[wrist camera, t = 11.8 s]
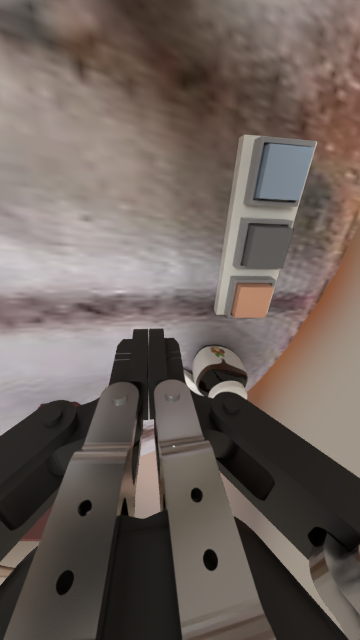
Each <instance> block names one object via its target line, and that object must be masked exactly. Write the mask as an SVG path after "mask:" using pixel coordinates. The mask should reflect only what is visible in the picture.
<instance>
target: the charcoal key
mask: <svg viewBox="0 0 360 640" xmlns="http://www.w3.org/2000/svg"><path fill="white" fill-rule="evenodd" d="M293 231H294V229H293V228H290V227H286V226H266V225H249V227H248V232H247V237H246V242H245V247H244V252H243V258H242V264H243V265H244V266H245V267H247V268H283V265H284V261H285V258H286V255H287V251H288V248H289V244H290V241H291V238H292V234H293Z"/></svg>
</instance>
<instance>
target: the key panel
mask: <svg viewBox="0 0 360 640" xmlns="http://www.w3.org/2000/svg"><path fill="white" fill-rule="evenodd" d="M270 143H271V144H282V145H293V146H304V147H314V151H315V148H316V144H317V141H307V140H297V139H287V138H276V137H266V136H255V135H243V136H241V137H240V138H239V142H238V149H237V156H236V162H235V169H234V176H233V183H232V190H231V196H230V203H229V210H228V217H227V223H226V230H225V237H224V244H223V251H222V257H221V264H220V271H219V278H218V285H217V291H216V298H215V305H214V311H215V313H216V315H226V317H227V318H234V316H233V315H232V313H231V310H232V305H233V300H234V295H235V289H236V284H237V283H269V284H270V285H271V286H273V287H274V288H275V285H276V281H277V278H278V274H279V271H280V268H247V267H245V266H244V265H243V264H242V258H243V252H244V247H245V242H246V237H247V232H248V227H249V225H266V226H286V227H290V228H292V227H293V223H294V220H295V216H296V213H297V209H298V206H299V203H300V199H301V196H302V192H303V189H304V185H305V182H306V179H307V175H308V172H309V168H310V165H311V161H312V158H313V155H314V151H313V154H312V158H311V161H310V165H309V168H308V172H307V175H306V178H305V182H304V185H303V189H302V192H301V196H300V199H299V200H282V199H264V198H253V197H254V192H255V187H256V181H257V176H258V171H259V166H260V161H261V156H262V151H263V146H265V145H268V144H270ZM273 292H274V289H273ZM272 295H273V293H272ZM271 298H272V296H271ZM270 302H271V300H270ZM269 305H270V303H269ZM268 309H269V307H268ZM267 312H268V310H267ZM264 318H265V317H264Z"/></svg>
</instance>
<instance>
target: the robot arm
mask: <svg viewBox="0 0 360 640" xmlns="http://www.w3.org/2000/svg"><path fill="white" fill-rule="evenodd" d="M148 398H149V410H150V420H151V419H154V434H155V449H156V460H157V470H158V482H159V494H160V511H161V512H159V513H157V514H154V515H152V516H150V517H148V518H145V519H139V518H135V517H134V514H135V494H136V483H137V475H138V466H139V457H140V449H141V440H142V433H143V420H148ZM220 472H221V473H222V474H223V475H224V476H225V477H226V478H227V479H228V480H229V481H230V482H231V483H232V484H233V485H234V486H235V487H236V488H237V489H238V490H239V491H240V492H241V493H242V494H243V495H244V496H245V497H246V498H247V499H248V500H249V501H250V502H251V503H252V504H253V505H254V506H255V507H256V508H257V509H258V510H259V511H260V512H261V513H262V514H263V515H264V516H265V517H266V518H267V519H268V520H269V521H270V522H271V523H272V524H273V525H274V526H275V527H276V528H277V529H278V530H279V531H280V532H281V533H282V534H283V535H284V536H285V537H286V538H287V539H288V540H289V541H290V542H291V543H292V544H293V545H294V546H295V547H296V548H297V549H298V550H299V551H300V552H301V553H302V554H303V555H304V556H305V557H306V558H307V559H308V560H309V567H310V573H311V577H312V580H313V583H314V585H315V587H316V590H317V592H318V593H319V595H320V597H321V598H322V600H323V601H324V603H325V604H326V606H327V607H328V608H329V609H330V611H331V612H332V613H333V615H334V616H335V617H336V619H337V621H338V622H339V624H340V625H341V627H342V629H343V631H344V633H345V634H344V633H343V632H342V631H341V630H340V629H339V628H338V626H337V625H336V624H335V623H334V622H333V621H332V620H331V618H330V617H329V616H328V615H327V614H326V613H325V612H324V611H323V609H322V608H321V607H320V606H319V605H318V604H317V603H316V601H315V600H314V599H313V598H312V597H311V596H310V595H309V593H308V592H307V591H306V590H305V589H304V588H303V587H302V586H301V584H300V583H299V582H298V581H297V580H296V579H295V578H294V576H293V575H292V574H291V573H290V572H289V571H288V570H287V568H286V567H285V566H284V565H283V564H282V563H281V562H280V560H279V559H278V558H277V557H276V556H275V555H274V553H273V552H272V551H271V550H270V549H269V548H268V547H267V545H266V544H265V543H264V542H263V541H262V540H261V539H260V538H259V537H258V535H257V534H256V533H255V532H254V531H253V530H252V529H251V528H249V527H248V526H247V525H246V524H245V523H243V522H242V521H241V520H239V519H238V518H236V517H234V516H233V513H232V510H231V507H230V504H229V500H228V497H227V494H226V491H225V487H224V484H223V481H222V478H221V475H220ZM53 504H54V505H53ZM52 505H53V507H52V510H51V513H50V515H49V518H48V521H47V523H46V526H45V529H44V532H43V534H42V537H41V540H40V542H39V545H38V546H37V547H36V548H35V549H34V550H32V551H31V552H30V553H29V554H28V555H27V556H26V557H25V558H24V559H23V560H22V561H21V562H20V563H19V564H18V565H17V566H16V568H15V569H14V570H13V571H12V572H11V573H10V575H9V576H8V577H7V578H6V579H5V581H4V582H3V583H2V584H1V585H0V640H360V478H359V477H357V476H355V475H354V474H353V473H351V472H350V471H348V470H347V469H346V468H344V467H343V466H341V465H340V464H338V463H337V462H335V461H334V460H332V459H331V458H330V457H328V456H327V455H325V454H324V453H322V452H321V451H320V450H318V449H317V448H315V447H314V446H312V445H311V444H310V443H308V442H307V441H305V440H304V439H302V438H301V437H299V436H298V435H297V434H295V433H294V432H292V431H291V430H289V429H288V428H286V427H285V426H284V425H282V424H281V423H279V422H278V421H276V420H275V419H273V418H272V417H270V416H269V415H268V414H266V413H265V412H263V411H262V410H260V409H259V408H258V407H256V406H255V405H253V404H252V403H250V402H249V401H248V400H246V399H245V398H243V397H242V396H240V395H239V394H236V393H233V392H227V391H226V392H220V393H218V394H217V395H215V397H214V398H210V397H205V396H201V395H198V394H196V393H194V392H193V391H192V390H190V389H189V387H188V386H187V384H186V381H185V376H184V370H183V365H182V359H181V353H180V348H179V344H178V342H177V341H176V340H175V339H174V338H164V331H163V329H149V341H148V329H134V331H133V338H132V339H123V340H122V341H121V342H120V343H119V345H118V346H117V350H116V355H115V359H114V364H113V368H112V373H111V378H110V382H109V386H108V387H107V388H106V389H105V390H104V391H103V392H102V394H101V396H100V397H99V398H98V399H96V400H94V401H92V402H90V403H87V404H84V405H80V406H77V407H75V406H74V405H73V404H72V403H71V402H69V401H66V400H57V401H53V402H50V403H48V404H46V405H44V406H42V407H41V408H39V409H38V410H36V411H35V412H34V413H32V414H31V415H29V416H28V417H27V418H25V419H24V420H22V421H21V422H20V423H18V424H17V425H15V426H14V427H12V428H11V429H10V430H8V431H7V432H5V433H4V434H3V435H1V436H0V561H1V560H2V559H3V558H4V557H5V556H6V555H7V554H8V553H9V552H10V550H11V549H12V548H13V547H14V546H15V545H16V544H17V543H18V542H19V541H20V540H21V539H22V537H23V536H24V535H25V534H26V533H27V532H28V531H29V530H30V529H31V528H32V527H33V525H34V524H35V523H36V522H37V521H38V520H39V519H40V518H41V517H42V516H43V515H44V513H45V512H46V511H47V510H48V509H49V508H50V507H51V506H52ZM345 635H346V636H345Z"/></svg>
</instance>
